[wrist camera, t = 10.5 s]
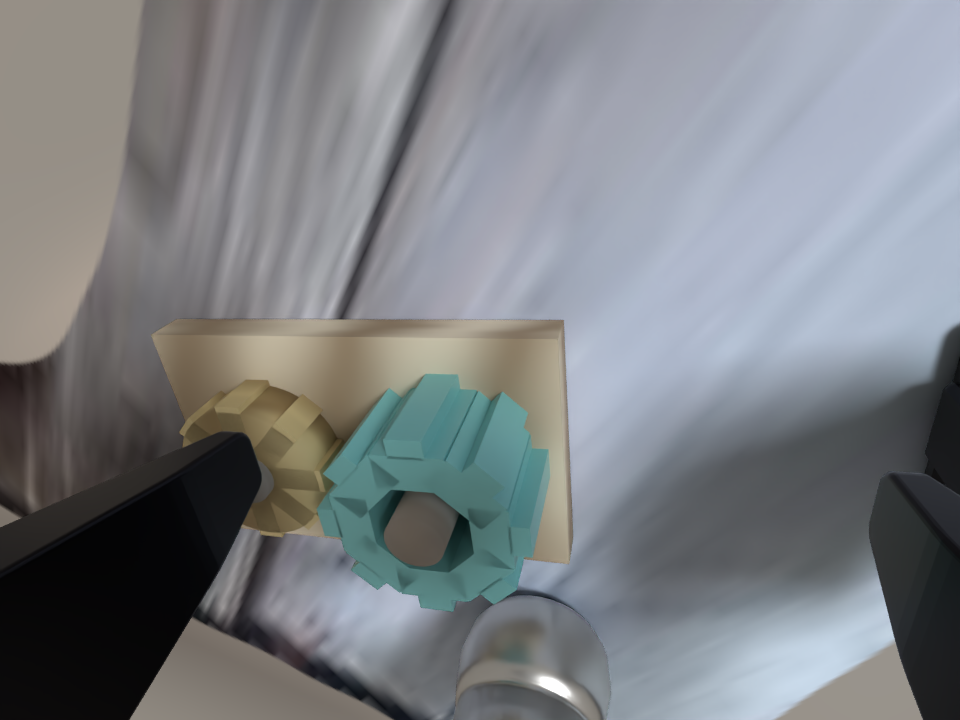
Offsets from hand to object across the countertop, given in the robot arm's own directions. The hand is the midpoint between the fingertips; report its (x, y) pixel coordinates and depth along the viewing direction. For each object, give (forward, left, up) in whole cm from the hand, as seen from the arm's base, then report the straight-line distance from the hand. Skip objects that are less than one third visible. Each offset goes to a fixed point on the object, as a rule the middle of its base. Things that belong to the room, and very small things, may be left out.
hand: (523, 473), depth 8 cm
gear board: (+9, +8, -12) cm, 17 cm away
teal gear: (+5, +8, -10) cm, 14 cm away
